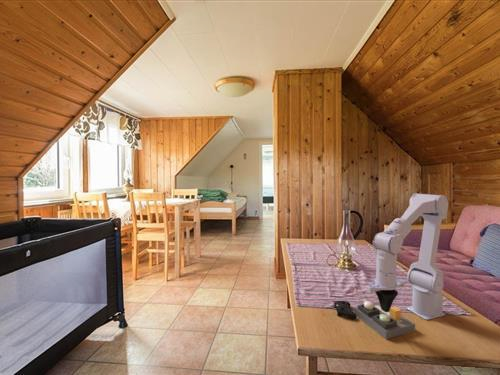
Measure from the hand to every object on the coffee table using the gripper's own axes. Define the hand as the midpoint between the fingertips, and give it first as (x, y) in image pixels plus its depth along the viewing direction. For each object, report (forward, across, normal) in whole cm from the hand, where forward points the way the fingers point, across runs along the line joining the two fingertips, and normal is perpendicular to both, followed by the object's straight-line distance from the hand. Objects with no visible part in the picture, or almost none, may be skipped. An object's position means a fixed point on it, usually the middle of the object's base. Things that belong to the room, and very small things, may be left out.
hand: (385, 310), depth 81 cm
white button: (+3, 0, -7) cm, 8 cm away
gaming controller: (+7, +6, -13) cm, 16 cm away
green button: (+4, 0, 0) cm, 4 cm away
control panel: (+7, -3, -4) cm, 8 cm away
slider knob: (+4, -5, -1) cm, 7 cm away
